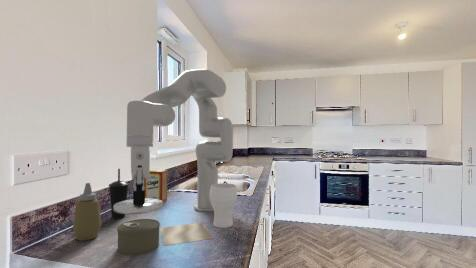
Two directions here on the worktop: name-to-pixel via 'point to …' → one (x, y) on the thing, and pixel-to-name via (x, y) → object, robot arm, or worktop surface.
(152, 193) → the baking soda box
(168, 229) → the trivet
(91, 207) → the squeeze bottle
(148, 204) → the lid
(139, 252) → the can
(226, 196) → the cup
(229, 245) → the worktop surface
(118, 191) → the drinking cup
